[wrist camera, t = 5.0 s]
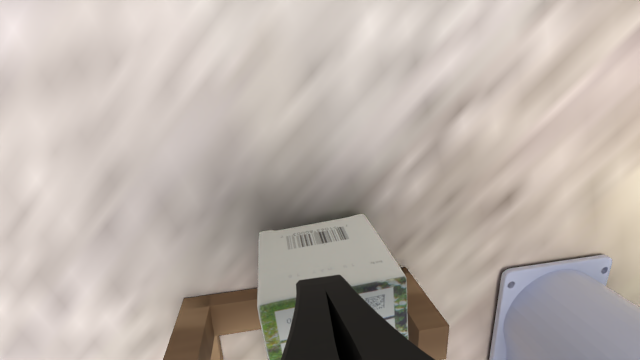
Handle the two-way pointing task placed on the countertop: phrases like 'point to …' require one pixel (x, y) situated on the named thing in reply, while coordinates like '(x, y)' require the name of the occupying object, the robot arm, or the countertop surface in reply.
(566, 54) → the countertop surface
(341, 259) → the syrup box
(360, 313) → the robot arm
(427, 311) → the rest
